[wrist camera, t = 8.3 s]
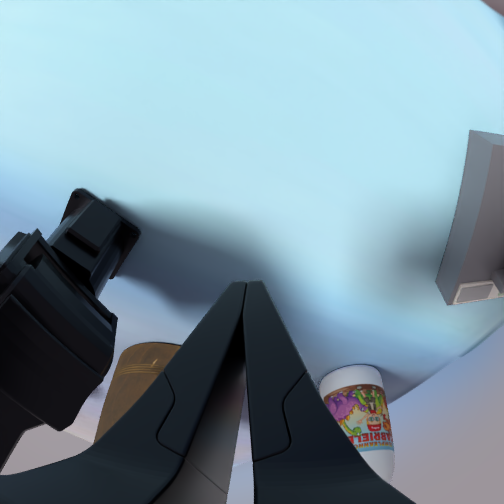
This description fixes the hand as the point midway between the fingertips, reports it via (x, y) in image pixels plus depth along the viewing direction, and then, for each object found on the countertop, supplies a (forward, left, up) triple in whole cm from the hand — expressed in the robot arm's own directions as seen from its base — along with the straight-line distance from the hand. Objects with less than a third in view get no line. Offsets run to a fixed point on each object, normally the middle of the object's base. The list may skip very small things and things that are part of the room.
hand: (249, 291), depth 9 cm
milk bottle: (-14, -26, -13) cm, 32 cm away
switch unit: (+10, -18, -13) cm, 24 cm away
